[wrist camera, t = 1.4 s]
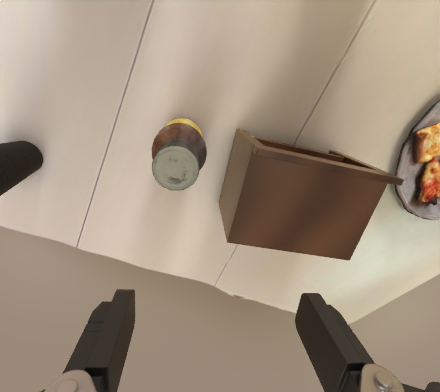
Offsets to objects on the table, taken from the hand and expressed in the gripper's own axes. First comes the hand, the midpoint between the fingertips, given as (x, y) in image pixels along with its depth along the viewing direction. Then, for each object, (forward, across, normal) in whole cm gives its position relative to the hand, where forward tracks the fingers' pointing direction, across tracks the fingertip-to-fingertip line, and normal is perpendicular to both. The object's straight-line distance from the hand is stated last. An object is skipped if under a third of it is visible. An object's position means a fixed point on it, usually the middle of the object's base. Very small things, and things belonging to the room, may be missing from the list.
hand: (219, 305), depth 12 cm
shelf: (+32, -13, +2) cm, 34 cm away
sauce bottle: (+32, +3, -4) cm, 32 cm away
